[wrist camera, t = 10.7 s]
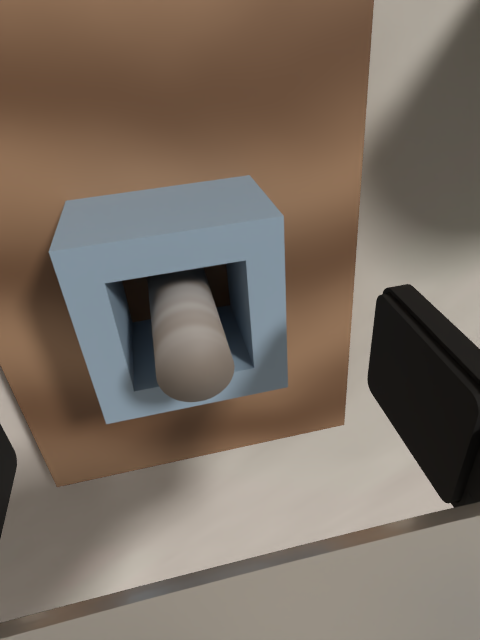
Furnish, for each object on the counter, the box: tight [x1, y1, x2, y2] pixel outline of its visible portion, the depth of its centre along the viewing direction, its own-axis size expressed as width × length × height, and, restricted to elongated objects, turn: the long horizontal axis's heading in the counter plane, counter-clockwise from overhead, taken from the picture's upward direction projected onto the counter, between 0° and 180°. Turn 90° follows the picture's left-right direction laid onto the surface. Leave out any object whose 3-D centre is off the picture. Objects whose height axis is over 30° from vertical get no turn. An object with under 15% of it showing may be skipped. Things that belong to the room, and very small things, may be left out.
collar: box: [49, 175, 288, 424], centre depth 15 cm, size 6×6×4 cm
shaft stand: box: [0, 0, 374, 487], centre depth 15 cm, size 20×14×7 cm
